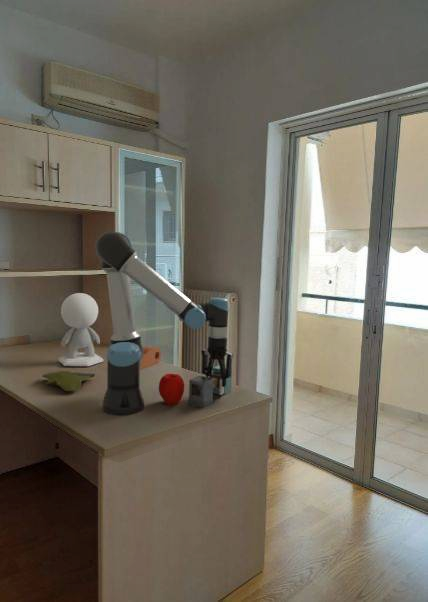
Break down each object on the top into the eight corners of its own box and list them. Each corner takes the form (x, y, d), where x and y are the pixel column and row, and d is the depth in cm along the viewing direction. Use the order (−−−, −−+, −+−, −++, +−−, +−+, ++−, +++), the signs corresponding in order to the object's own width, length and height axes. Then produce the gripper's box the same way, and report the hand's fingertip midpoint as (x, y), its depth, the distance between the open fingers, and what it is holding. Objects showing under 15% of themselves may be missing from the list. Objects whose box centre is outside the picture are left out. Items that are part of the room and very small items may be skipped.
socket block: (225, 396, 182) (226, 370, 180) (212, 393, 185) (213, 367, 183) (231, 392, 187) (232, 367, 185) (218, 390, 189) (219, 364, 188)
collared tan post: (208, 394, 170) (208, 381, 170) (197, 391, 172) (197, 379, 172) (227, 383, 184) (227, 372, 183) (217, 381, 186) (217, 370, 186)
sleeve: (203, 409, 166) (204, 382, 165) (188, 406, 169) (189, 379, 168) (212, 404, 172) (213, 378, 171) (198, 401, 175) (198, 375, 174)
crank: (148, 359, 237) (148, 344, 236) (161, 361, 234) (161, 346, 233) (125, 368, 219) (125, 352, 218) (139, 370, 216) (139, 354, 215)
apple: (152, 403, 171) (153, 372, 169) (172, 397, 178) (172, 368, 177) (170, 410, 164) (170, 378, 163) (189, 404, 171) (190, 373, 170)
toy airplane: (110, 386, 190) (110, 375, 189) (61, 397, 175) (61, 385, 174) (80, 372, 210) (80, 361, 209) (33, 380, 195) (33, 369, 194)
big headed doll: (92, 354, 244) (92, 290, 240) (107, 364, 225) (107, 295, 221) (55, 358, 233) (54, 291, 229) (67, 368, 214) (66, 296, 210)
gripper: (241, 337, 177) (239, 394, 180) (203, 332, 185) (201, 386, 188) (233, 340, 170) (231, 399, 173) (193, 335, 179) (192, 391, 182)
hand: (215, 392), depth 181 cm, fingers closed on collared tan post, 5 cm apart
